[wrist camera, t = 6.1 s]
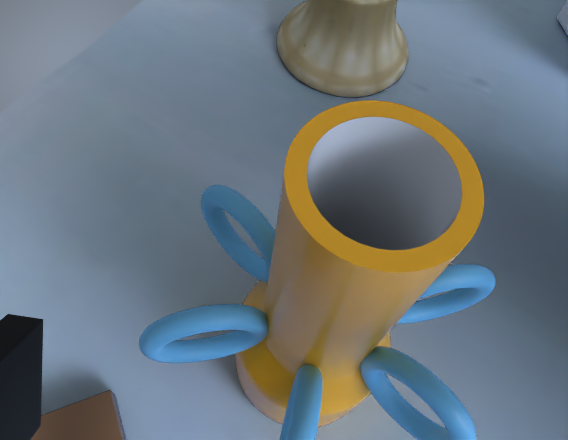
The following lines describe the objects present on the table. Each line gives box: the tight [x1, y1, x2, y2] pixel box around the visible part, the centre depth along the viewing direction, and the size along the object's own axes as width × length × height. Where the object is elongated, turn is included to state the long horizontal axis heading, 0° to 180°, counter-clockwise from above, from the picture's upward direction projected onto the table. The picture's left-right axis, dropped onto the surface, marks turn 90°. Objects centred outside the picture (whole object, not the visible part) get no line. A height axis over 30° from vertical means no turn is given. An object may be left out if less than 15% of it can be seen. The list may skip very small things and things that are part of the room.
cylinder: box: [139, 100, 495, 440], centre depth 17 cm, size 12×10×15 cm
